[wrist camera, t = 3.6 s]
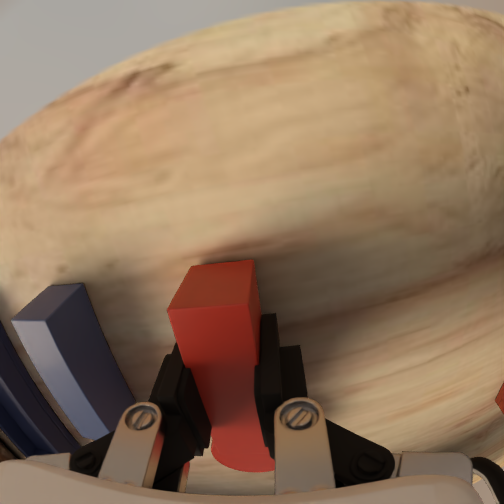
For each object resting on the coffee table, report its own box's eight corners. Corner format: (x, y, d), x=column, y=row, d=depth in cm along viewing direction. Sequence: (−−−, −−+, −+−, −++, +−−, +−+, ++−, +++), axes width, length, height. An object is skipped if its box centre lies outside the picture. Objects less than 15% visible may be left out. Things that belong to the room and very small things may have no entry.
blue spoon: (35, 286, 11) (-3, 319, 9) (100, 280, 11) (62, 320, 8) (117, 437, 15) (103, 473, 12) (174, 444, 15) (164, 484, 12)
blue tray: (-54, 298, 12) (-72, 312, 10) (-11, 295, 12) (-33, 314, 10) (38, 445, 18) (30, 461, 16) (95, 462, 17) (87, 481, 15)
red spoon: (167, 267, 11) (136, 310, 8) (280, 255, 10) (285, 299, 7) (224, 447, 14) (218, 490, 12) (296, 443, 14) (299, 488, 11)
